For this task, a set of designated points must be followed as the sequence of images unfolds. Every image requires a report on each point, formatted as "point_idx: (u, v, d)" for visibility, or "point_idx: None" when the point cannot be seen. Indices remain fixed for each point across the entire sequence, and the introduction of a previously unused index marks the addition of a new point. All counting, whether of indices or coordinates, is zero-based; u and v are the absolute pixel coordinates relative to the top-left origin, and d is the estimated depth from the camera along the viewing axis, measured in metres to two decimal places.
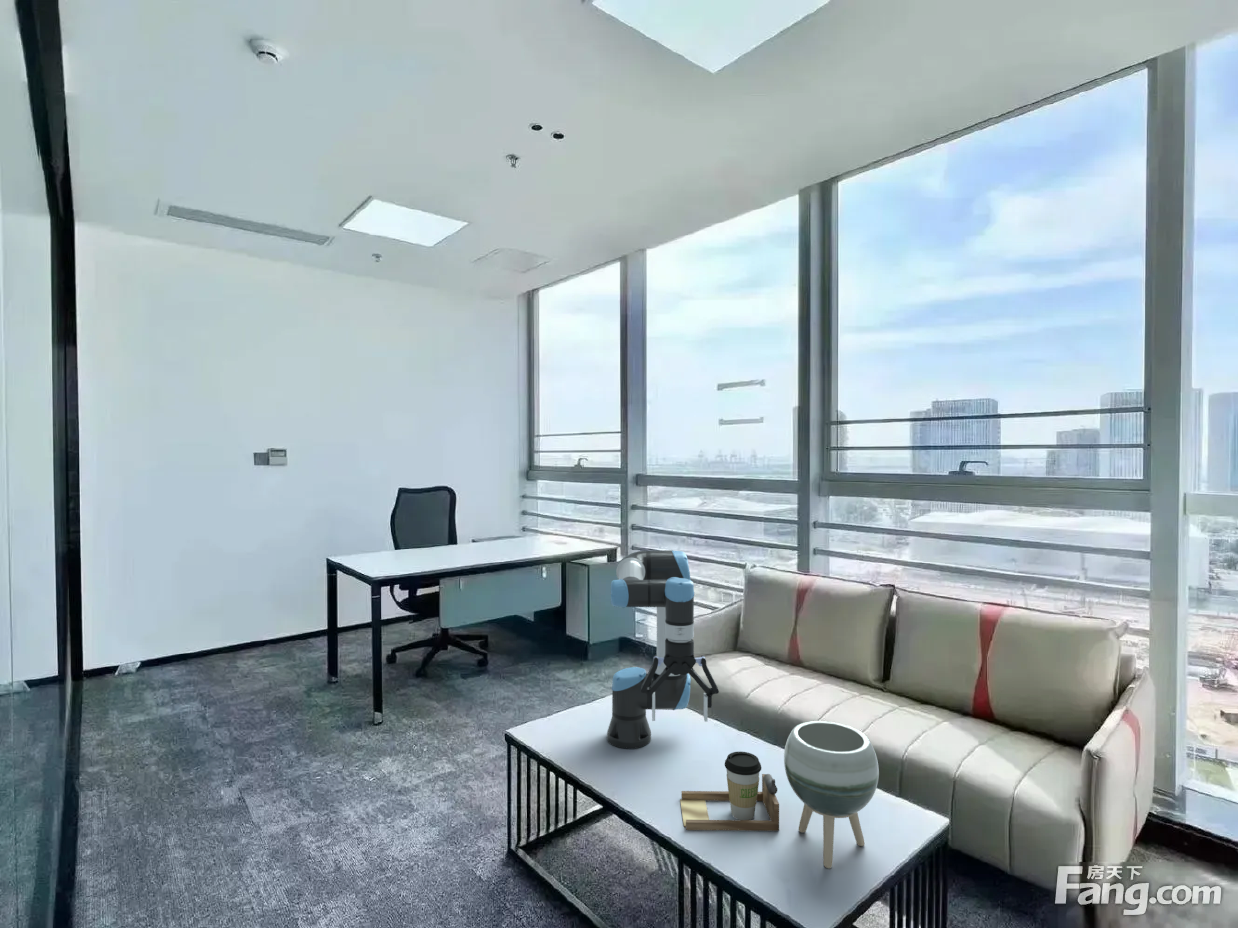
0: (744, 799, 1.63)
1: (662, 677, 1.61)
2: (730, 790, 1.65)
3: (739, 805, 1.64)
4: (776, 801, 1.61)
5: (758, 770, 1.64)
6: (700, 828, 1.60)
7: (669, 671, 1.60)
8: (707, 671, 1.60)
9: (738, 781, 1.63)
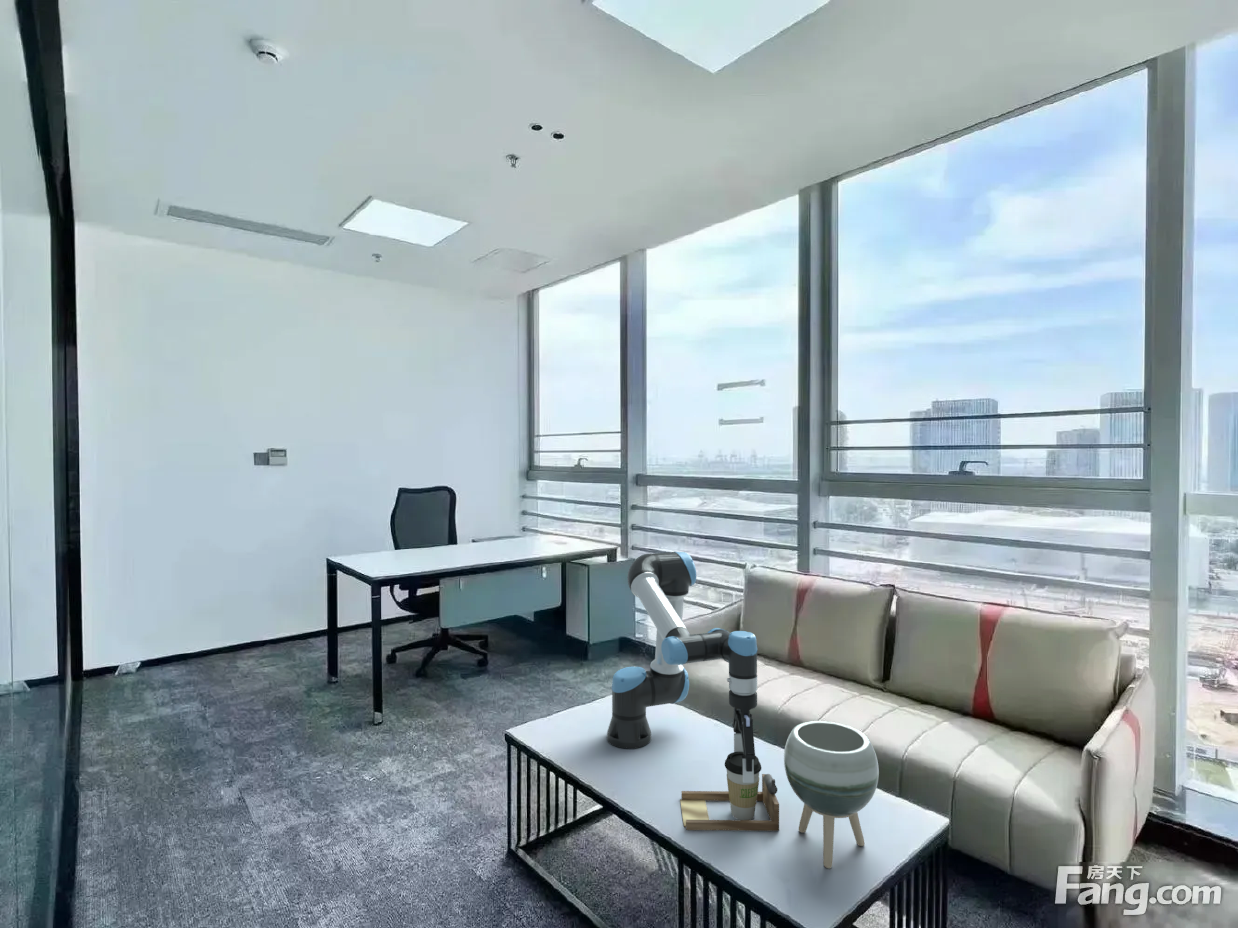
0: (744, 799, 1.63)
1: None
2: (730, 790, 1.65)
3: (739, 805, 1.64)
4: (776, 801, 1.61)
5: (758, 770, 1.64)
6: (700, 828, 1.60)
7: (735, 716, 1.69)
8: (743, 732, 1.60)
9: (738, 781, 1.63)
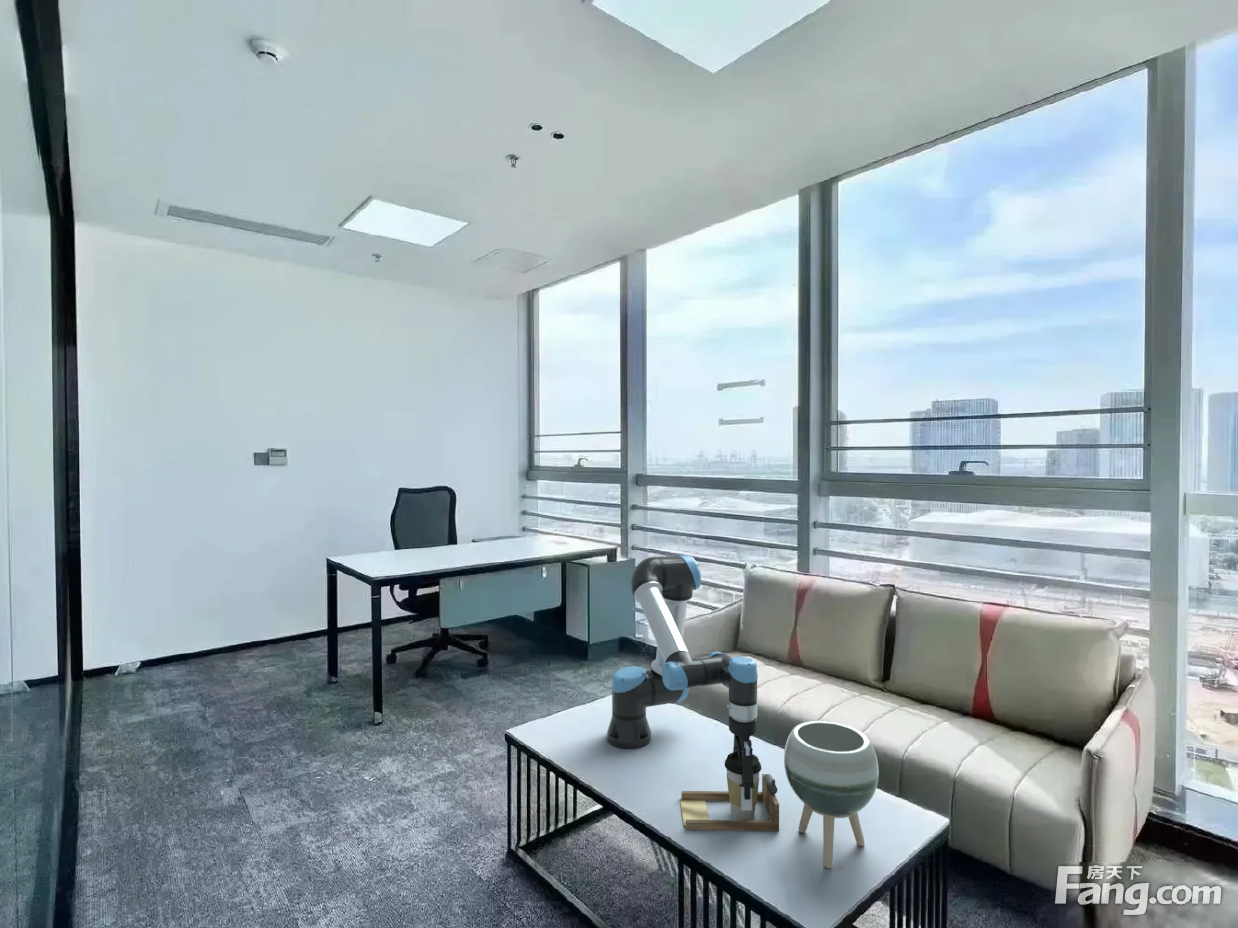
0: None
1: (736, 748, 1.71)
2: (730, 790, 1.65)
3: (739, 805, 1.64)
4: (776, 801, 1.61)
5: (758, 770, 1.64)
6: (700, 828, 1.60)
7: (735, 743, 1.69)
8: (742, 761, 1.60)
9: (738, 780, 1.63)
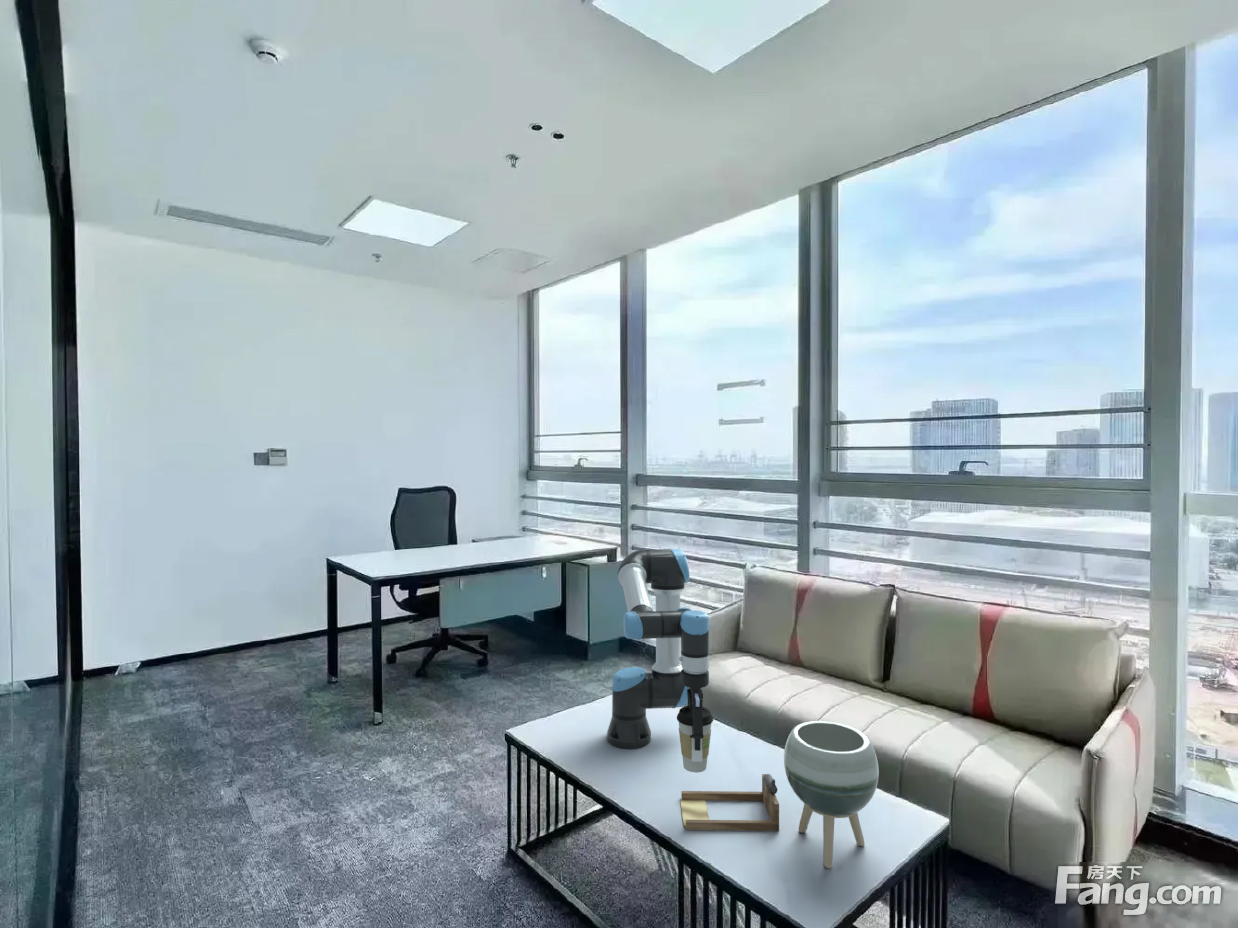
0: None
1: None
2: (682, 742, 1.66)
3: (690, 757, 1.64)
4: (776, 801, 1.61)
5: (709, 722, 1.64)
6: (700, 828, 1.60)
7: (687, 696, 1.69)
8: (692, 712, 1.60)
9: (689, 732, 1.63)
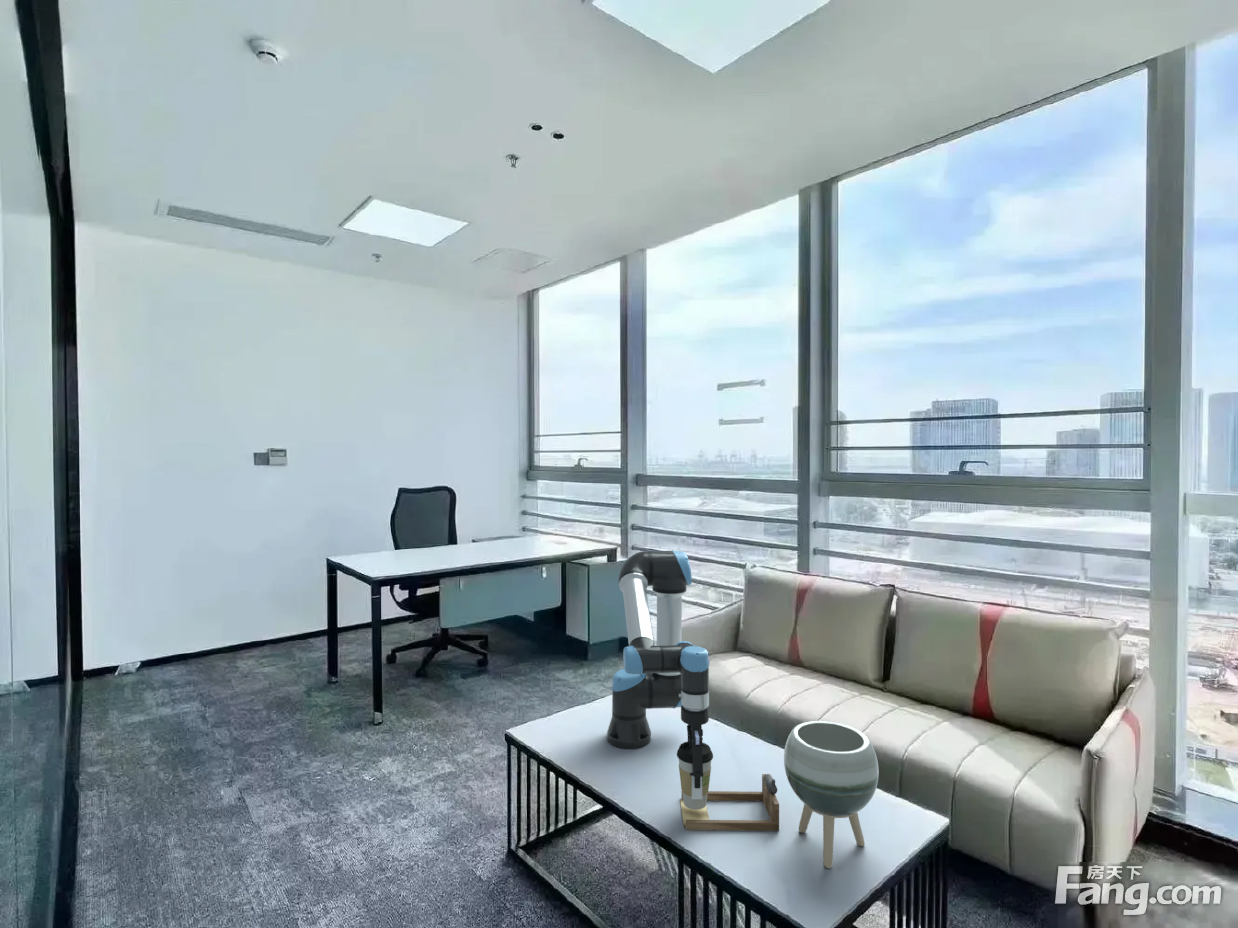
0: None
1: None
2: (682, 779, 1.66)
3: (690, 794, 1.64)
4: (776, 801, 1.61)
5: (709, 759, 1.64)
6: (700, 828, 1.60)
7: (687, 732, 1.70)
8: (692, 750, 1.60)
9: (689, 769, 1.63)
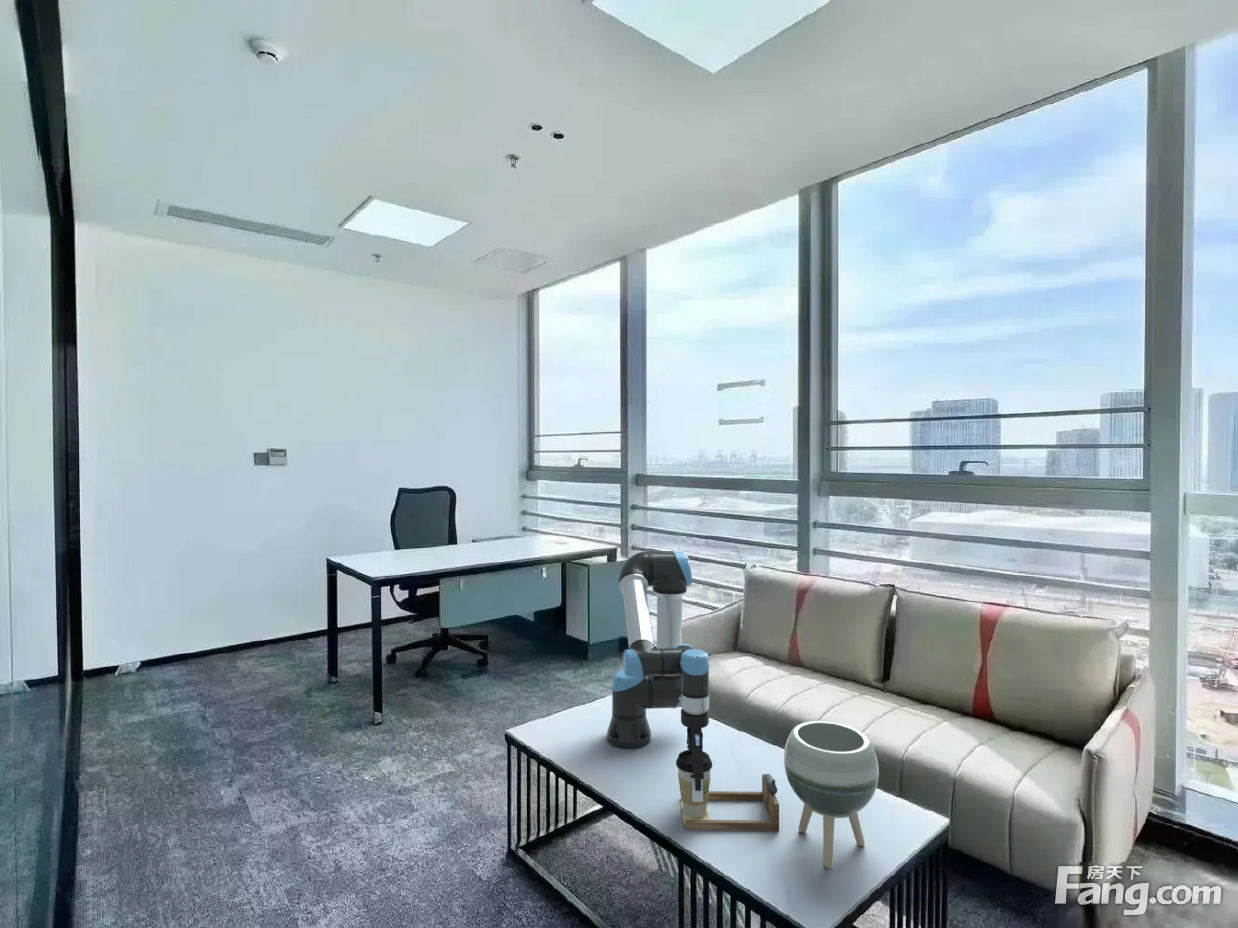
0: None
1: None
2: (681, 788, 1.66)
3: (690, 803, 1.64)
4: (776, 801, 1.61)
5: (708, 768, 1.64)
6: (700, 828, 1.60)
7: (687, 734, 1.70)
8: (693, 751, 1.60)
9: (689, 779, 1.64)
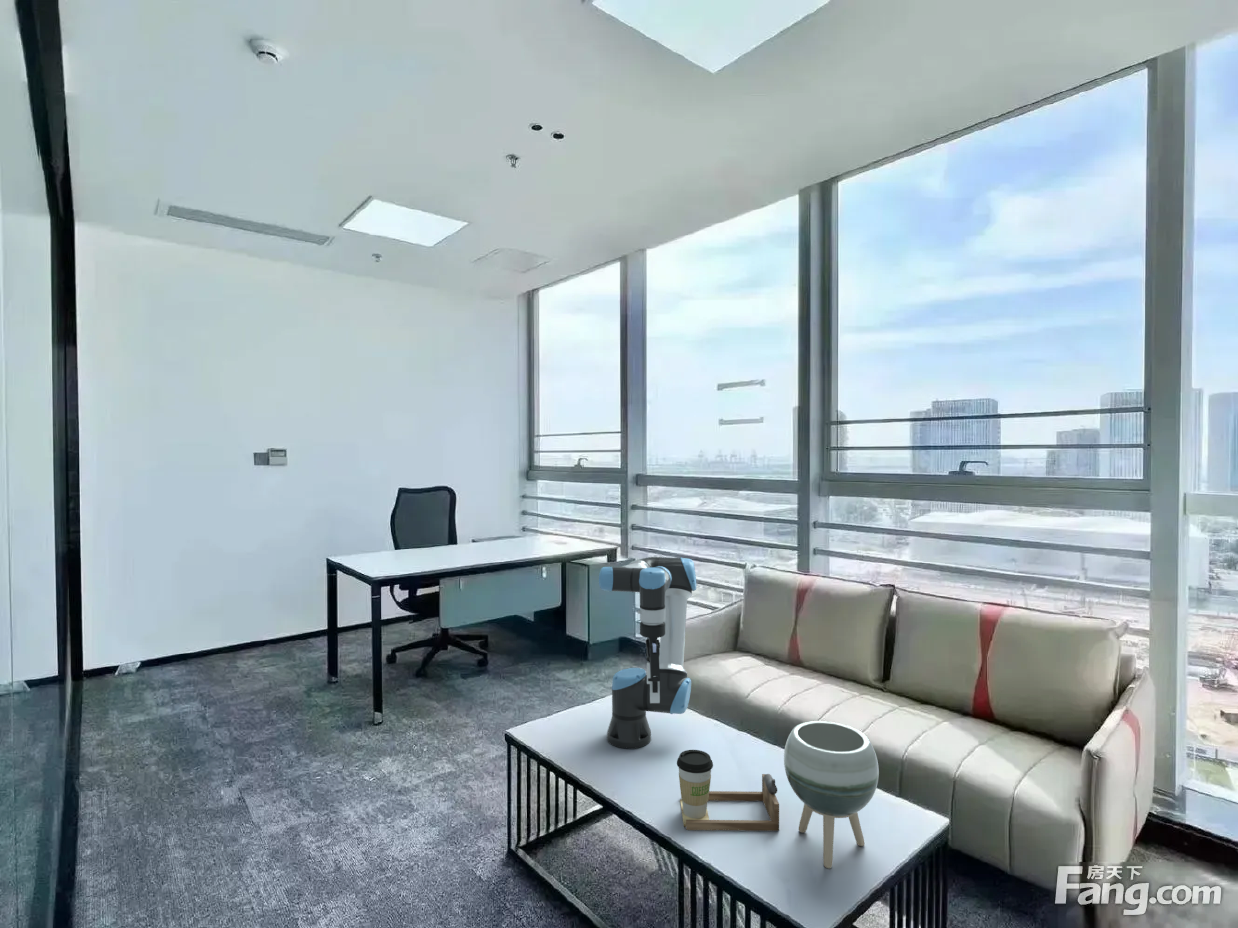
0: (694, 797, 1.64)
1: None
2: (681, 788, 1.66)
3: (690, 803, 1.64)
4: (776, 801, 1.61)
5: (709, 768, 1.64)
6: (700, 828, 1.60)
7: None
8: (650, 657, 1.74)
9: (689, 779, 1.64)
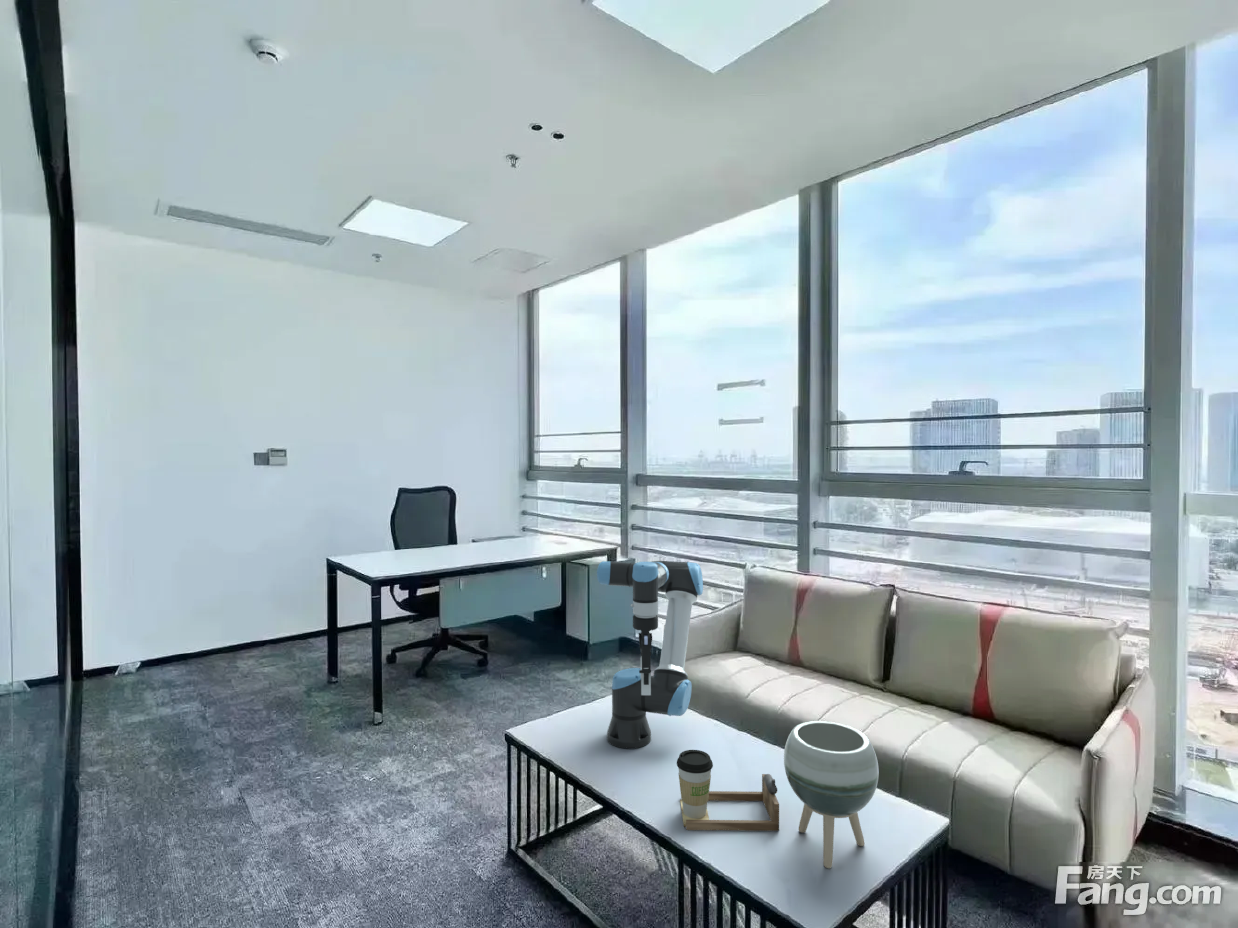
0: (694, 797, 1.64)
1: None
2: (681, 788, 1.66)
3: (690, 803, 1.64)
4: (776, 801, 1.61)
5: (709, 768, 1.64)
6: (700, 828, 1.60)
7: None
8: (641, 649, 1.76)
9: (689, 779, 1.64)
